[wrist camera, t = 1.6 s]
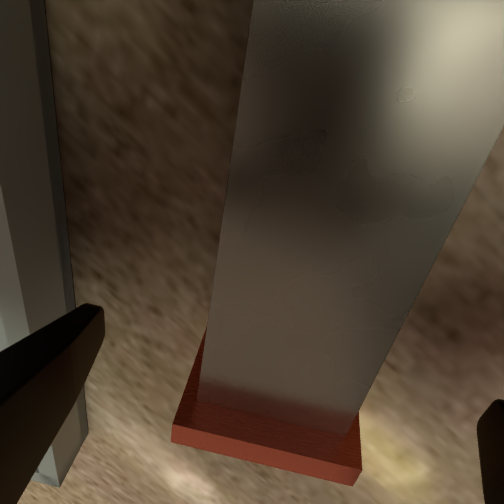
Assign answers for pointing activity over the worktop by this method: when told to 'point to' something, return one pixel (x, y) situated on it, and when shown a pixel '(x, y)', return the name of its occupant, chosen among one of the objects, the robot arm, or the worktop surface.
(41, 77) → the tray
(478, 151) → the red capped grey bar
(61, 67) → the worktop surface
